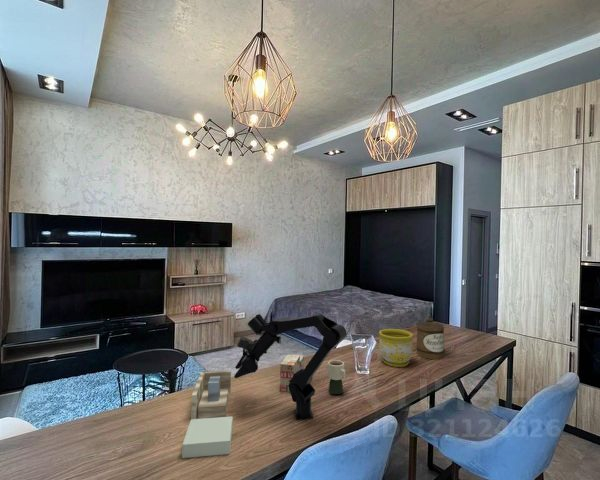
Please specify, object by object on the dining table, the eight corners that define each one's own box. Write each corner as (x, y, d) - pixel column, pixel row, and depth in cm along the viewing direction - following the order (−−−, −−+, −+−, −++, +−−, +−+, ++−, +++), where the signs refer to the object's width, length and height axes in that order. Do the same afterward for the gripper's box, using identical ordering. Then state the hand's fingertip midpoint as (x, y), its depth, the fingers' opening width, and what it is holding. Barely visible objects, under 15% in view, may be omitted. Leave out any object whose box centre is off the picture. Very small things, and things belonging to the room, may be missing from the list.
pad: (229, 453, 97) (230, 440, 97) (182, 458, 95) (182, 444, 95) (232, 427, 111) (232, 416, 111) (190, 431, 109) (191, 419, 109)
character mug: (350, 395, 136) (350, 364, 136) (339, 399, 132) (339, 368, 132) (333, 386, 145) (333, 357, 145) (321, 390, 140) (321, 360, 140)
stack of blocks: (292, 372, 160) (292, 348, 160) (304, 373, 159) (304, 349, 159) (279, 391, 139) (280, 363, 139) (293, 393, 138) (293, 364, 138)
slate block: (218, 400, 122) (218, 382, 122) (207, 401, 121) (208, 383, 121) (220, 393, 128) (220, 376, 128) (209, 394, 127) (210, 376, 127)
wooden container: (428, 360, 178) (427, 321, 178) (411, 352, 192) (411, 315, 192) (449, 358, 182) (449, 319, 182) (432, 350, 196) (432, 314, 197)
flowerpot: (420, 366, 169) (420, 335, 169) (392, 371, 162) (392, 339, 163) (398, 355, 186) (398, 327, 186) (372, 359, 179) (372, 330, 180)
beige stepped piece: (226, 417, 117) (227, 393, 118) (191, 420, 115) (191, 395, 116) (230, 390, 139) (230, 370, 139) (200, 392, 137) (201, 371, 137)
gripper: (249, 324, 136) (222, 351, 134) (249, 336, 118) (218, 367, 116) (267, 342, 137) (241, 368, 135) (270, 356, 119) (240, 388, 117)
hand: (235, 372), depth 126 cm, fingers open, 9 cm apart
